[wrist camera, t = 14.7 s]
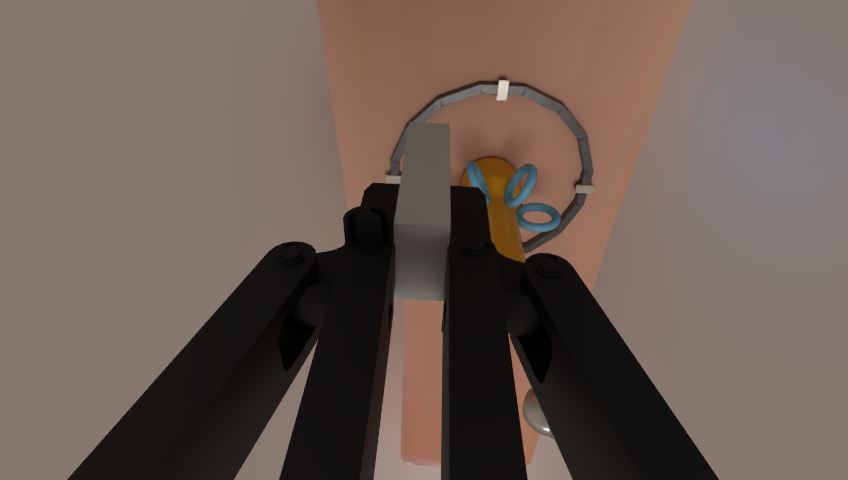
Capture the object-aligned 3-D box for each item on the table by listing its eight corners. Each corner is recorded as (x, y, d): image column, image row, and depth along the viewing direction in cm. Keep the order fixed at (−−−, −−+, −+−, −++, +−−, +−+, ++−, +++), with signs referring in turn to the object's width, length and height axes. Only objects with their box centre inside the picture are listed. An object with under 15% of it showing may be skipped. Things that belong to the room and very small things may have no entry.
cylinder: (496, 241, 54) (511, 343, 42) (418, 202, 51) (409, 299, 39) (566, 159, 47) (607, 253, 35) (481, 109, 44) (493, 192, 32)
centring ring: (385, 71, 42) (384, 74, 41) (621, 82, 42) (624, 86, 41) (388, 253, 55) (387, 258, 54) (567, 262, 55) (569, 268, 54)
